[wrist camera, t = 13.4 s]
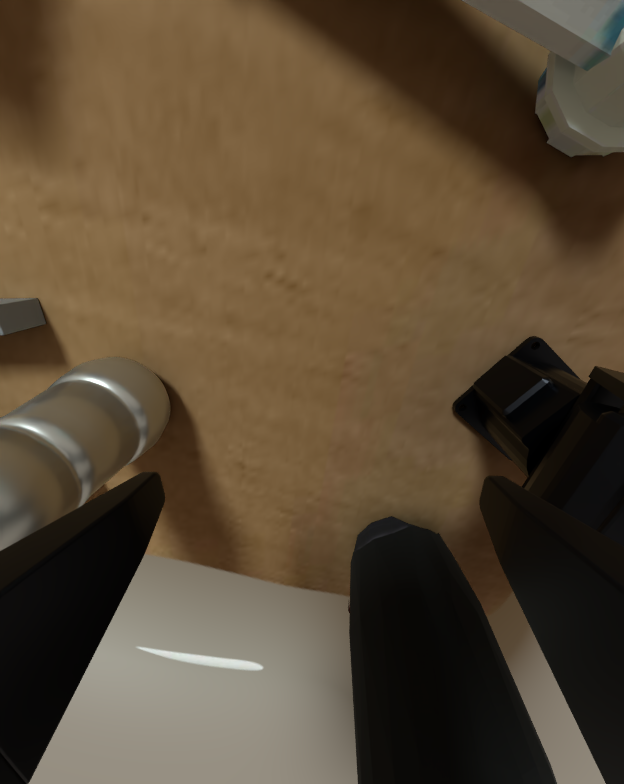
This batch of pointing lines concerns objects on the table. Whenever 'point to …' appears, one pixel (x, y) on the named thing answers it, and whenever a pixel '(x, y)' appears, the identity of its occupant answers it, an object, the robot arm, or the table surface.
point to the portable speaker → (430, 671)
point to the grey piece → (574, 68)
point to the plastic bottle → (75, 441)
